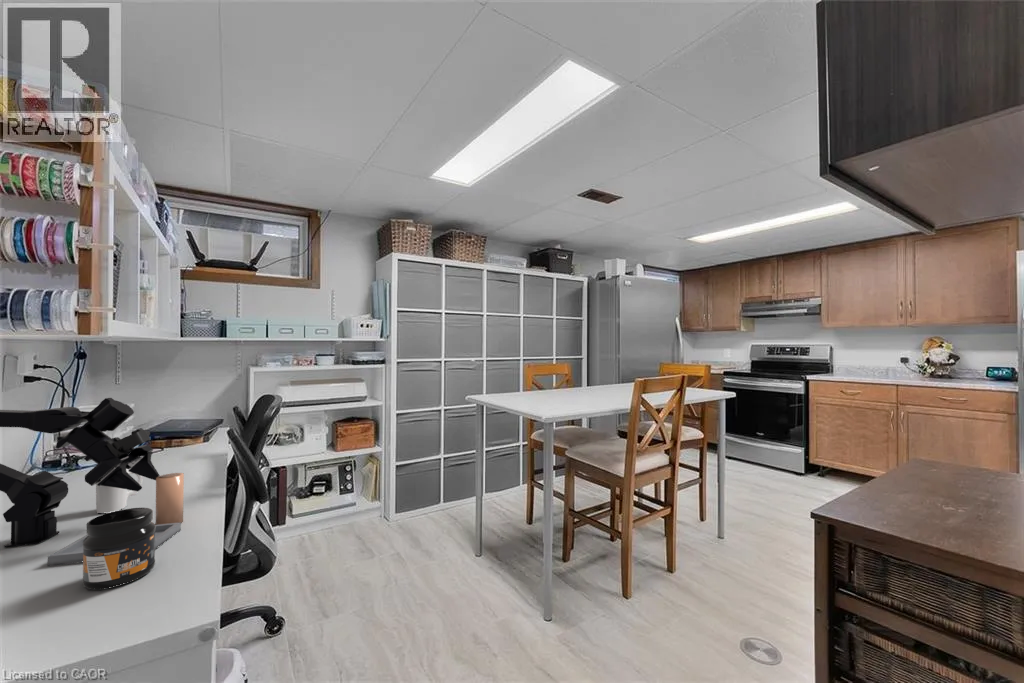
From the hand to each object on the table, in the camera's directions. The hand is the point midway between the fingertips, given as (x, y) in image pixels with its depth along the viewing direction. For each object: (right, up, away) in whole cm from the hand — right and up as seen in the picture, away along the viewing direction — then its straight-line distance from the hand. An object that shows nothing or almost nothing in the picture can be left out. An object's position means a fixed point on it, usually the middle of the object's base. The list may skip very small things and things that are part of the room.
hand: (150, 484), depth 106 cm
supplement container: (+16, -10, -25) cm, 31 cm away
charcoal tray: (+3, -10, -12) cm, 16 cm away
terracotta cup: (+4, -11, +1) cm, 12 cm away
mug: (-21, -12, +13) cm, 27 cm away
